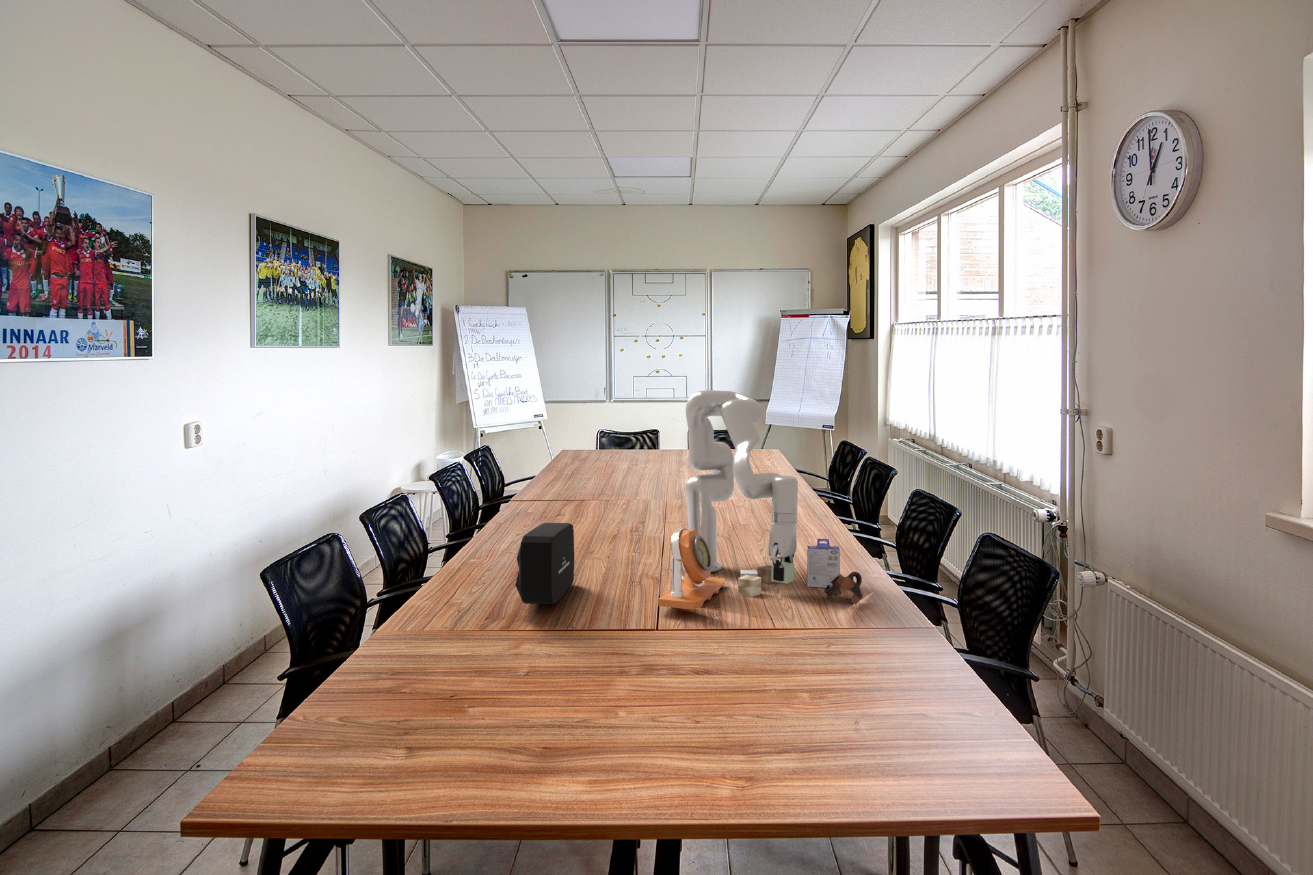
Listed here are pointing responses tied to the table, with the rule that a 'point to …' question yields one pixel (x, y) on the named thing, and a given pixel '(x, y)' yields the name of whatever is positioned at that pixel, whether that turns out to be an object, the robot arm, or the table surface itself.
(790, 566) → the sage cube
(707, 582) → the desk clock
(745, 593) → the maple cube
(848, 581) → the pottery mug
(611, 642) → the table surface
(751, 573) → the grey cube
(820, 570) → the ink cartridge box
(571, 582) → the black hard case
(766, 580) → the walnut cube
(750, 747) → the table surface
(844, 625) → the table surface
